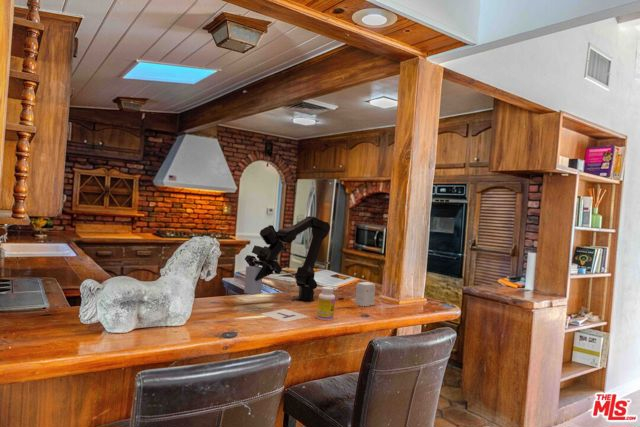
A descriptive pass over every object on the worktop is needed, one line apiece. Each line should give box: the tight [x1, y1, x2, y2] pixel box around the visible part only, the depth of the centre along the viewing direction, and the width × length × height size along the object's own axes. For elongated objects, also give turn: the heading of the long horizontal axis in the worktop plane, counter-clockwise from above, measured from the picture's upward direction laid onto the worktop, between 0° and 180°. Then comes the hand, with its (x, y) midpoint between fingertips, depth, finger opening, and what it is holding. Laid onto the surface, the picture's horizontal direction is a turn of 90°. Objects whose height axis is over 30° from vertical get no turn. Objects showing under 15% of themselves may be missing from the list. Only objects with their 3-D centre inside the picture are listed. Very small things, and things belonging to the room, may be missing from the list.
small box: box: [354, 281, 376, 308], centre depth 206 cm, size 8×6×10 cm
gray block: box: [243, 265, 263, 296], centre depth 179 cm, size 5×5×11 cm
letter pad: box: [260, 308, 310, 323], centre depth 172 cm, size 14×14×1 cm
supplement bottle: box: [316, 286, 336, 321], centre depth 173 cm, size 7×7×13 cm
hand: (251, 279), depth 178 cm, fingers closed on gray block, 5 cm apart
